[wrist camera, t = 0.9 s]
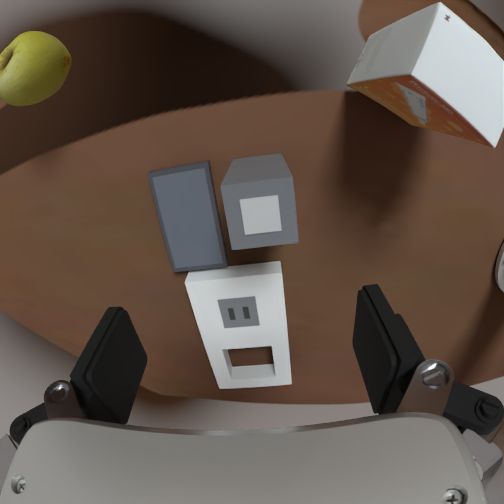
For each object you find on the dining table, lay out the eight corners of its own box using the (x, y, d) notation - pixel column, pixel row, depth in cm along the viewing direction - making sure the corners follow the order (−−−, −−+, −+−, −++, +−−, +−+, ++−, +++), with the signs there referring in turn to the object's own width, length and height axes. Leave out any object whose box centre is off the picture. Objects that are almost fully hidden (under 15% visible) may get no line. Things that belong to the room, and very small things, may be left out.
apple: (80, 102, 23) (-5, 111, 15) (41, 103, 25) (-30, 113, 16) (94, 29, 20) (11, 19, 11) (52, 40, 21) (-19, 38, 13)
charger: (281, 153, 27) (293, 177, 18) (286, 198, 29) (298, 243, 20) (233, 159, 27) (220, 186, 18) (240, 203, 29) (231, 251, 20)
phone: (209, 160, 27) (207, 162, 27) (228, 262, 32) (227, 266, 31) (150, 171, 28) (147, 173, 27) (175, 268, 33) (173, 272, 32)
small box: (344, 85, 24) (408, 74, 12) (368, 34, 21) (439, -3, 9) (411, 127, 25) (496, 151, 13) (433, 78, 22) (521, 79, 11)
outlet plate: (280, 260, 32) (281, 273, 30) (290, 371, 40) (291, 385, 38) (189, 270, 33) (184, 283, 31) (221, 376, 41) (219, 389, 39)
